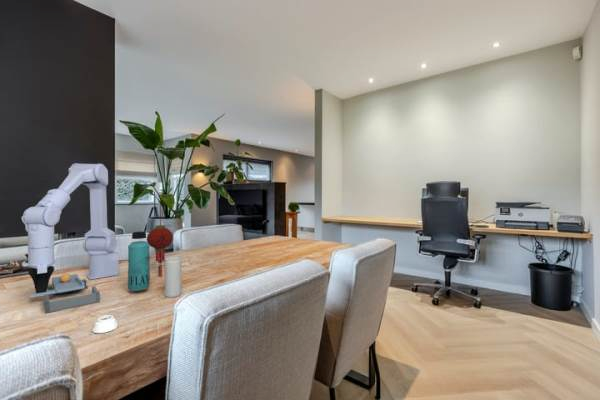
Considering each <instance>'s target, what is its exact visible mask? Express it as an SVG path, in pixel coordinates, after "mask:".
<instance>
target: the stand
mask: <svg viewBox="0 0 600 400" xmlns="http://www.w3.org/2000/svg"><path fill="white" fill-rule="evenodd" d="M81 280H82V281H83V282H84V288H83V289H77V290H72V291H66V292H60V293H55V294H49V295H48V297H49V296H53V295H60V294H64V293H70V292H71V293H72V292H76V291H77V292H78V291H81V290H83V291H84V290H88V288H89V287H88V285H87V279H86V278H83V279H81ZM48 290H53V287H52V283H51V284H48V288H47V291H48Z"/></svg>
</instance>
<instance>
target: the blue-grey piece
mask: <svg viewBox="0 0 600 400" xmlns="http://www.w3.org/2000/svg"><path fill="white" fill-rule="evenodd" d="M70 275H71V279H70V280H69V281H68V282H62V281H60V277H61V275H60V276H54V277H51V284H52V290H48V289H47V291H46V292H43V293H36V292H31V293H29V299H30V298H36V297H37V298H38V297H41V296H42V297H43V296H44V295H46V294H48V295H49V294H55V293H60V292H66V291H71V292H73V291H72V290H77V289H83V288H84V282H83V281H82V280H83V279H81V278H79V276H78V275H79V274H78V273H75V274H70ZM83 290H84V289H83ZM77 291H78V290H77ZM66 293H67V292H66ZM60 294H61V293H60ZM55 295H56V294H55ZM49 296H50V295H49Z"/></svg>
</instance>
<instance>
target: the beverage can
mask: <svg viewBox="0 0 600 400" xmlns="http://www.w3.org/2000/svg"><path fill="white" fill-rule="evenodd" d="M181 294H182V259H181V256H171V257H167V258H165V260H164V296H165V297H166V298H169V299H173V298H177V297H179V296H180V295H181Z"/></svg>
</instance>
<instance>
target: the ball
mask: <svg viewBox="0 0 600 400" xmlns="http://www.w3.org/2000/svg"><path fill="white" fill-rule="evenodd" d="M71 275H72V274H70V273H63V274H61V275H60V276H61V277H60V276H59V277H60V281H62V282H68V281H69V280H70V279H71Z"/></svg>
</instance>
